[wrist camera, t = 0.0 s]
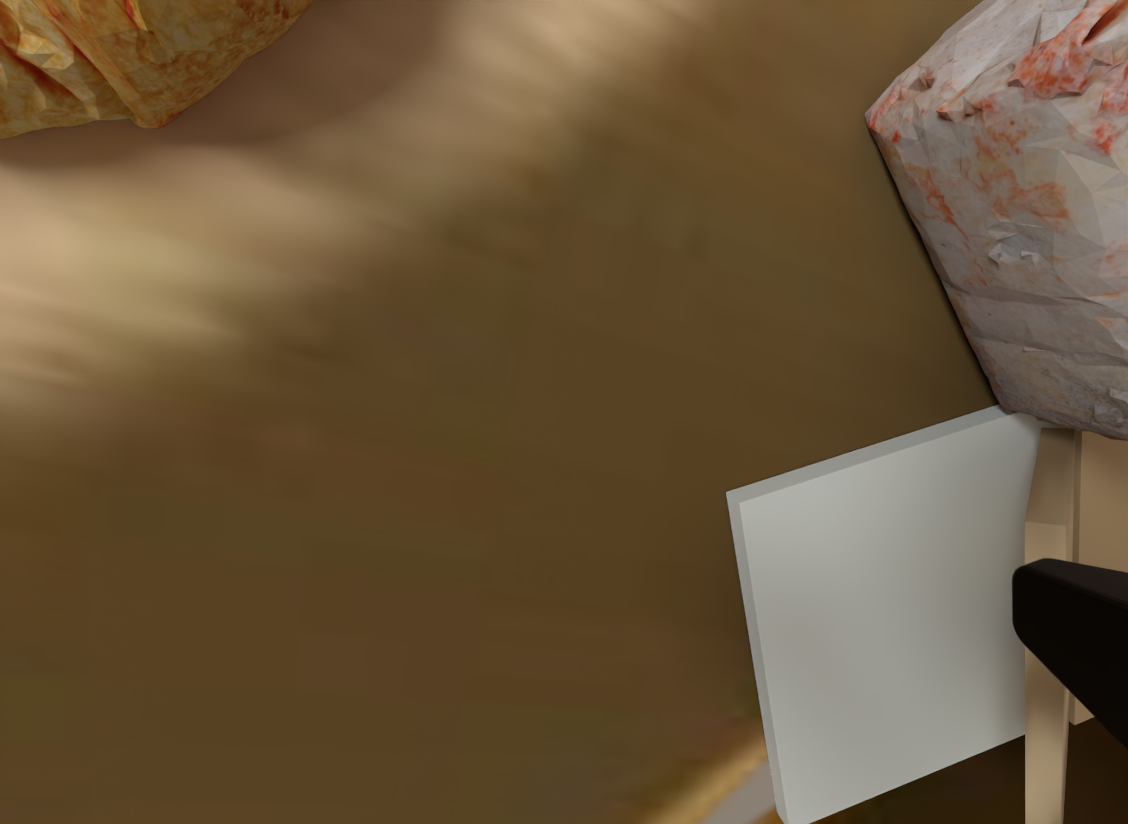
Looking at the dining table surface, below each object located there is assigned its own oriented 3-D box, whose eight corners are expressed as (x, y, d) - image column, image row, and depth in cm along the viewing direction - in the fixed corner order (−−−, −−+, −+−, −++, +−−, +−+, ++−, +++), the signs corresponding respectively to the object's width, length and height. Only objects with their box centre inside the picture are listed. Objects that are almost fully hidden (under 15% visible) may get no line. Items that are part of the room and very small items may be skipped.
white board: (1155, 657, 32) (1202, 684, 30) (776, 811, 29) (802, 852, 27) (1177, 346, 27) (1235, 356, 26) (726, 491, 24) (753, 514, 22)
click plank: (1040, 722, 30) (1068, 729, 29) (1025, 859, 25) (1060, 871, 24) (1041, 427, 25) (1075, 428, 25) (1024, 521, 20) (1066, 526, 20)
